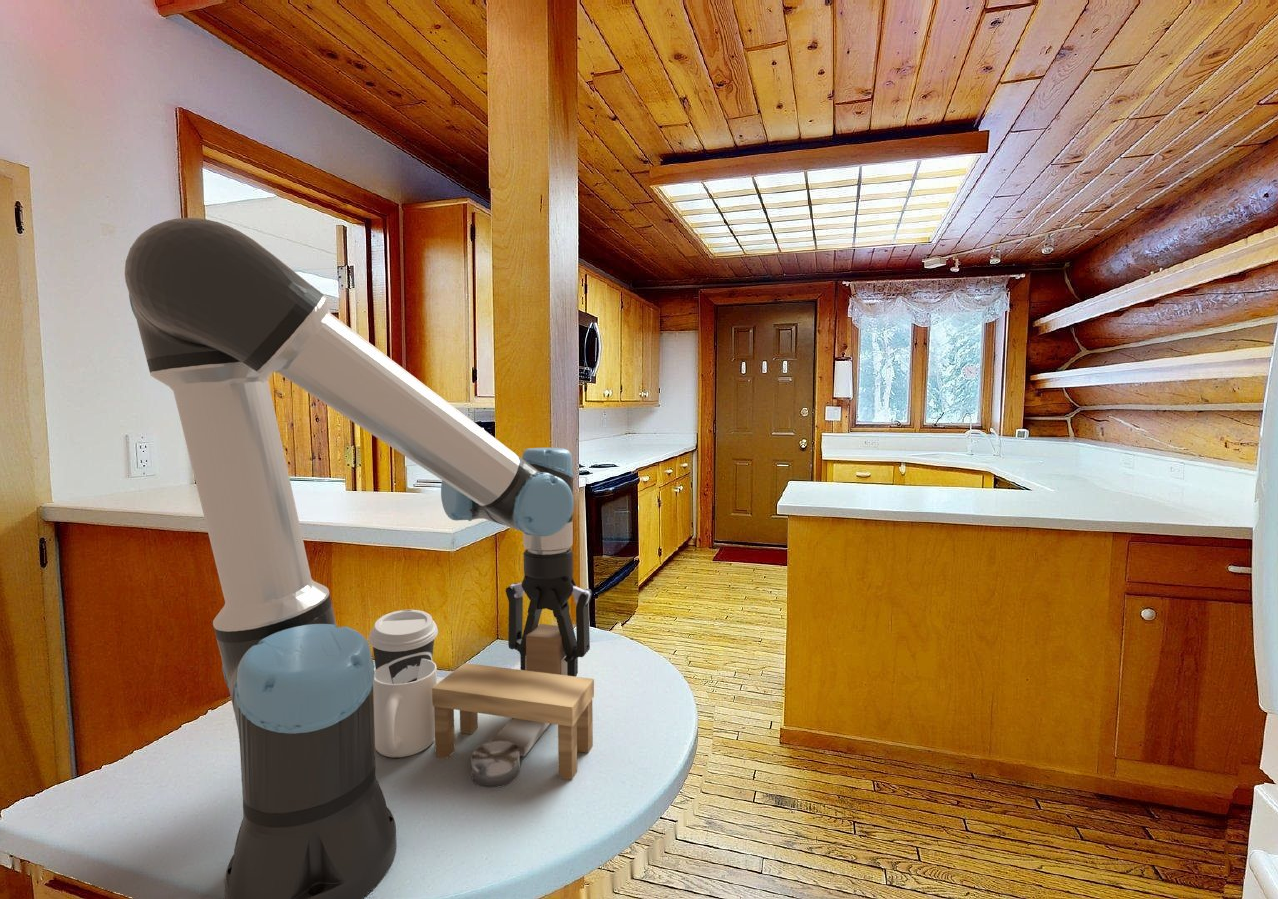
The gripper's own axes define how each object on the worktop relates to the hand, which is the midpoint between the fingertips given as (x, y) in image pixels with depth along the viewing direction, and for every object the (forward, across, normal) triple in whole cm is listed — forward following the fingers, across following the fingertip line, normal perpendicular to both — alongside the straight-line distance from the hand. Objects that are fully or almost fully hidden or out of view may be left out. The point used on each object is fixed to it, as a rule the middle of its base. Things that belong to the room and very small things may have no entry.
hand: (549, 695), depth 92 cm
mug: (+2, +15, +16) cm, 22 cm away
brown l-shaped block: (+1, 0, +6) cm, 6 cm away
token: (+2, 0, +17) cm, 17 cm away
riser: (+2, 0, +12) cm, 12 cm away
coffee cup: (+2, +20, +8) cm, 22 cm away
